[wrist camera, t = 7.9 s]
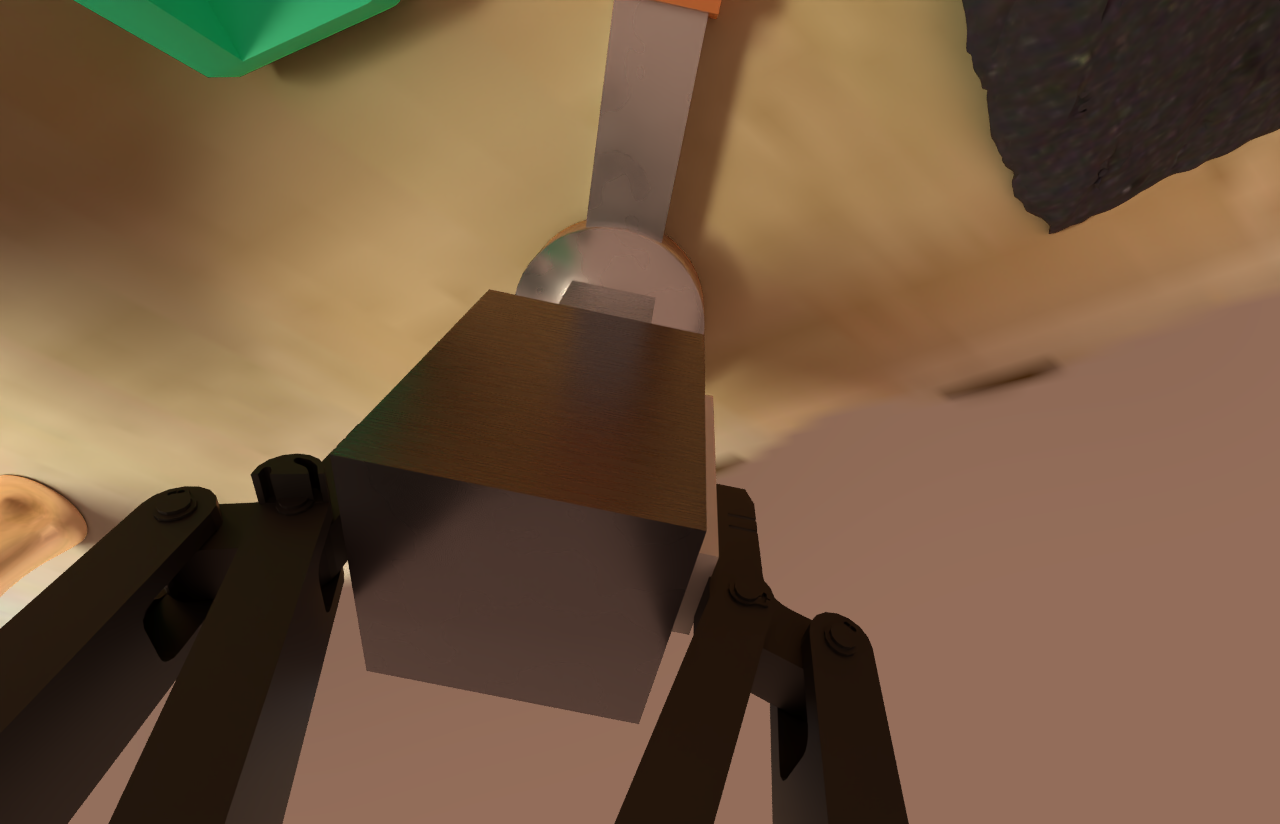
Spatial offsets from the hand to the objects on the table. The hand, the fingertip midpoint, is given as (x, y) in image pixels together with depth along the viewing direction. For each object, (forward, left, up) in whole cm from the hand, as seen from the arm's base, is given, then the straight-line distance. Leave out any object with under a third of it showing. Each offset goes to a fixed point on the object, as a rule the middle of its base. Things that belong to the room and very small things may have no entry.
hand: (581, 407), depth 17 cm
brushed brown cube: (0, 0, 0) cm, 0 cm away
